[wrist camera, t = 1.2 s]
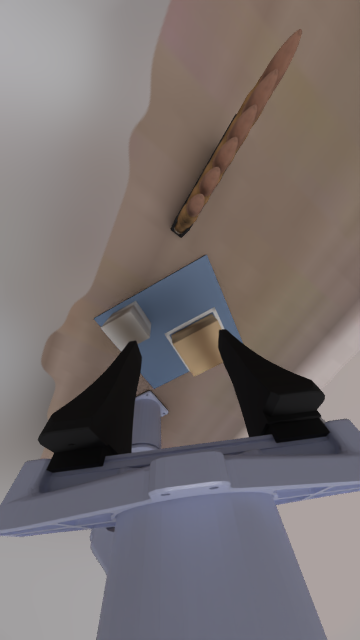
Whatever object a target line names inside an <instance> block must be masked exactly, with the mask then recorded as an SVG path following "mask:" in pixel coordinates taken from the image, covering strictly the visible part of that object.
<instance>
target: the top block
mask: <svg viewBox="0 0 360 640" xmlns="http://www.w3.org/2000/svg"><path fill="white" fill-rule="evenodd" d="M101 329H102V330H103V331H104V332H105V334H106V335H107V336H108V337H109V338H110V339H111V341H112V342H113V343H114V344H115V345H116V346H117V347H118V349H119V350H120V351H121V352H122V350H123V349H124V348H125V346H126V345H127V344H128V342H129V341H137V344H139V343H141V342H143V341H145V340H147V339H148V338H150V331H151V322H150V321H149V319H148V318H147V316H146V315H145V313H144V312H143V310H142V309H141V307H140V306H139V304H138V303H137V301H134V302H133V303H131V304H129V305H127V306H126V307H124V308H122V309H120V310H118V311H117V312H115V313H113V314H112V315H111V316H110V317H109V318H108V319H107V321H106V322H105V323H104V324H103V326H102V327H101Z"/></svg>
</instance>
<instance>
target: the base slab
mask: <svg viewBox="0 0 360 640" xmlns="http://www.w3.org/2000/svg"><path fill="white" fill-rule="evenodd" d="M219 330H222V328H221V326H220V324H219V322H218V320H217V319H216V318H215V317H214V316H213V315H212V314H210V315H208V316H206V317H205V318H203V319H201V320H199V321H197V322H195V323H193V324H191V325H190V326H188V327H186V328H184V329H182V330H180V331H178V332H176V333H175V334H173V335H171V337H172V343H173V345H174V347H175V348H176V350H177V351H178V353H179V355H180V356H181V358H182V359H183V361H184V362H185V364H186V365H187V367H188V368H189V370H190V371H191V373H192V374H193V376H194V377H195V376H197V375H199V374H201V373H203V372H205V371H207V370H209V369H211V368H213V367H215V366H217V365H218V364H220V363H222V362H223V361H222V358H221V355H220V352H219V349H218V337H219Z"/></svg>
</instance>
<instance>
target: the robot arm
mask: <svg viewBox="0 0 360 640" xmlns="http://www.w3.org/2000/svg"><path fill="white" fill-rule="evenodd" d="M218 349H219V352H220V355H221V358H222V361H223V363H224V365H225V367H226V370H227V372H228V374H229V376H230V378H231V381H232V383H233V386H234V389H235V392H236V395H237V398H238V401H239V404H240V407H241V411H242V414H243V417H244V421H245V424H246V428H247V432H248V435H249V437H248V438H240V439H233V440H225V441H218V442H210V443H203V444H195V445H188V446H180V447H173V448H165V449H161V417H162V416H164V415H166V414H168V410H167V409H166V408H165V406H164V405H163V404H162V403H161V402H160V401H159V400H158V399H157V397H156V396H155V395H154V394H153V393H152V392H151V391H147V392H145V393H143V394H141V395H139V396H137V397H136V391H137V386H138V381H139V376H140V371H141V364H142V355H141V353H140V350H139V347H138V344H137V341H129V342H128V344H127V345H126V346H125V348H124V349H123V350H122V352H121V353H120V354H119V356H118V357H117V358H116V359H115V361H114V362H113V363H112V364H111V365H110V366H109V368H108V369H107V370H106V371H105V372H104V373H103V374H102V375H101V376H100V377H99V378H98V379H97V380H96V381H95V382H94V383H93V384H92V385H90V386H89V387H88V388H87V389H86V390H85V391H83V392H82V393H81V394H80V395H78V396H77V397H76V398H75V399H73V400H72V401H71V402H69V403H68V404H66V405H65V406H63V407H62V408H61V409H59V410H58V411H56V412H55V413H53V414H52V415H51V417H50V419H49V420H48V422H47V424H46V426H45V427H44V429H43V431H42V432H41V434H40V436H39V438H38V441H39V443H40V444H41V445H42V446H44V447H46V448H47V449H49V450H51V451H52V452H54V455H53V457H52V459H39V460H31V461H27V462H25V463H24V465H23V467H22V469H21V470H20V472H19V474H18V476H17V478H16V479H15V481H14V483H13V484H12V486H11V488H10V489H9V491H8V493H7V495H6V496H5V498H4V500H3V502H2V503H1V505H0V536H15V537H24V536H32V535H40V534H48V533H57V532H66V531H76V530H87V529H92V530H91V535H90V541H91V550H92V552H93V554H94V556H95V557H96V559H97V560H98V562H99V563H100V565H101V566H102V568H103V569H104V571H105V573H106V575H107V579H106V585H105V591H104V597H103V603H102V609H101V614H100V620H99V626H98V632H97V638H96V640H327V637H326V635H325V633H324V630H323V627H322V624H321V622H320V619H319V617H318V614H317V611H316V609H315V606H314V604H313V601H312V598H311V596H310V593H309V590H308V588H307V585H306V583H305V580H304V577H303V575H302V572H301V570H300V567H299V564H298V562H297V559H296V557H295V554H294V551H293V549H292V546H291V543H290V541H289V538H288V536H287V533H286V531H285V528H284V525H283V523H282V520H281V517H280V515H279V512H278V510H277V507H276V505H279V504H285V503H290V502H296V501H302V500H307V499H313V498H319V497H325V496H331V495H337V494H343V493H350V492H357V491H360V431H359V430H358V429H357V428H356V427H355V426H354V425H353V423H352V422H351V421H350V420H349V419H340V420H333V421H328V422H325V423H323V422H322V421H321V419H320V418H321V415H320V413H319V412H318V411H317V409H318V408H319V406H320V405H321V404H322V403H323V401H324V399H325V395H324V394H323V392H322V391H321V390H320V389H319V388H318V387H317V385H316V384H315V383H314V382H313V381H312V380H310V379H307V378H305V377H302V376H299V375H297V374H294V373H292V372H290V371H288V370H285V369H283V368H281V367H279V366H277V365H275V364H273V363H271V362H270V361H268V360H266V359H264V358H263V357H261V356H260V355H258V354H256V353H255V352H253V351H252V350H251V349H249V348H248V347H247V346H245V345H244V344H243V343H242V342H240V341H239V340H238V339H237V338H236V337H234V336H233V335H232V334H231V333H230V332H229V331H228V330H226V329H222V330H219V337H218Z"/></svg>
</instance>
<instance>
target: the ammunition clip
mask: <svg viewBox="0 0 360 640" xmlns="http://www.w3.org/2000/svg"><path fill="white" fill-rule="evenodd" d="M301 34H302V30H301V29H299V30H298V31H296V32H295V33H294V34H293V35H292V36H291V37H289V39H288V40H287V41H286V42H285V43H284V44H283V45H282V47H281V48H280V49H279V50H278V52H277V53H276V54H275V56H274V57H273V59H272V60H271V62H270V63H269V65H268V66H267V68H266V70H265V71H264V73H263V75H262V76H261V77H260V79H259V80H258V82H257V84H256V85H255V87H254V88H253V89H252V90H251V92H250V93H249V94H248V95H247V97H246V99H245V101H244V102H243V104H242V106H241V108H240V109H239V111H238V113H237V114H236V115H235V116H234V118H233V120H232V121H231V123H230V125H229V127H228V128H227V130H226V132H225V133H224V135H223V137H222V139H221V140H220V142H219V144H218V146H217V147H216V149H215V151H214V153H213V154H212V156H211V158H210V160H209V161H208V163H207V165H206V167H205V168H204V170H203V172H202V174H201V175H200V177H199V179H198V181H197V182H196V184H195V186H194V187H193V189H192V191H191V193H190V194H189V196H188V198H187V200H186V201H185V203H184V205H183V207H182V208H181V210H180V212H179V214H178V215H177V217H176V219H175V221H174V223H173V225H172V227H171V230H172V231H173V232H174V233H175V234H177V235H178V236H179V237H181V238H182V237H183V236H184V235H185V234H186V233H187V232H188V231H189V230H190V228H191V226H192V225H193V223H194V222H195V221H196V219H197V217H198V215H199V213H200V212H201V210H202V208H203V207H204V205H205V204H206V203H207V201H208V200H209V197H210V195H211V194H212V192H213V190H214V189H215V187H216V186H217V185H218V183H219V182H220V180H221V178H222V176H223V174H224V172H225V171H226V169H227V167H228V166H229V165H230V163H231V162H232V160H233V159H234V156H235V154H236V153H237V151H238V149H239V148H240V146H241V145H242V144H243V142H244V141H245V139H246V137H247V135H248V133H249V131H250V129H251V128H252V126H253V125H254V123H255V122H256V121H257V119H258V118H259V116H260V114H261V113H262V111H263V109H264V106H265V105H266V103H267V101H268V100H269V98H270V96H271V95H272V93H273V91H274V90H275V88H276V87H277V85H278V84H279V82H280V80H281V79H282V77H283V75H284V73H285V72H286V70H287V68H288V66H289V64H290V62H291V60H292V58H293V56H294V54H295V51H296V49H297V47H298V44H299V41H300V38H301Z"/></svg>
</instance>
